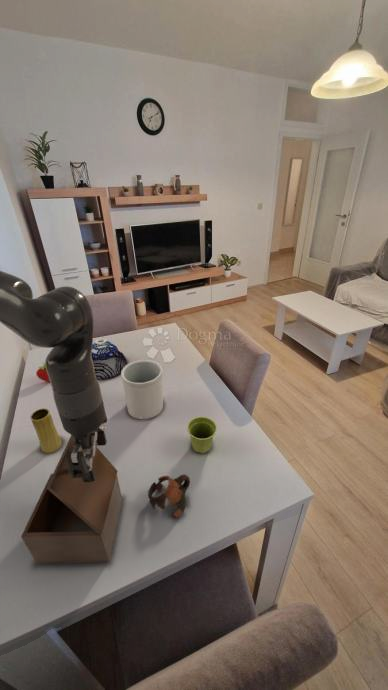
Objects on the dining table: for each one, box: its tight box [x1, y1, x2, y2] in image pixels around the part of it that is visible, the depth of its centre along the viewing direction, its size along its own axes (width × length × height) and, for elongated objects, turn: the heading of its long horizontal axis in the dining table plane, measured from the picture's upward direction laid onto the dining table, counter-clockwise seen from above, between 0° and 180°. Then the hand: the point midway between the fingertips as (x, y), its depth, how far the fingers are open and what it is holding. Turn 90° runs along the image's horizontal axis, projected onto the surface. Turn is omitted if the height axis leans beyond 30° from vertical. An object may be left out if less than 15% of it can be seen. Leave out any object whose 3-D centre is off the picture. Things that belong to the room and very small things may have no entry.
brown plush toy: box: [147, 474, 191, 519], centre depth 75 cm, size 12×10×8 cm
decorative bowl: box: [92, 338, 128, 381], centre depth 128 cm, size 20×20×14 cm
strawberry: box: [36, 361, 50, 383], centre depth 120 cm, size 6×8×10 cm
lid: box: [47, 434, 118, 534], centre depth 59 cm, size 18×15×6 cm
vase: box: [30, 407, 63, 454], centre depth 88 cm, size 6×6×14 cm
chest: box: [20, 473, 123, 564], centre depth 67 cm, size 17×15×12 cm
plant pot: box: [186, 416, 218, 454], centre depth 90 cm, size 9×9×9 cm
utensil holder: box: [120, 359, 164, 420], centre depth 104 cm, size 15×15×18 cm
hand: (95, 461), depth 57 cm, fingers open, 8 cm apart
